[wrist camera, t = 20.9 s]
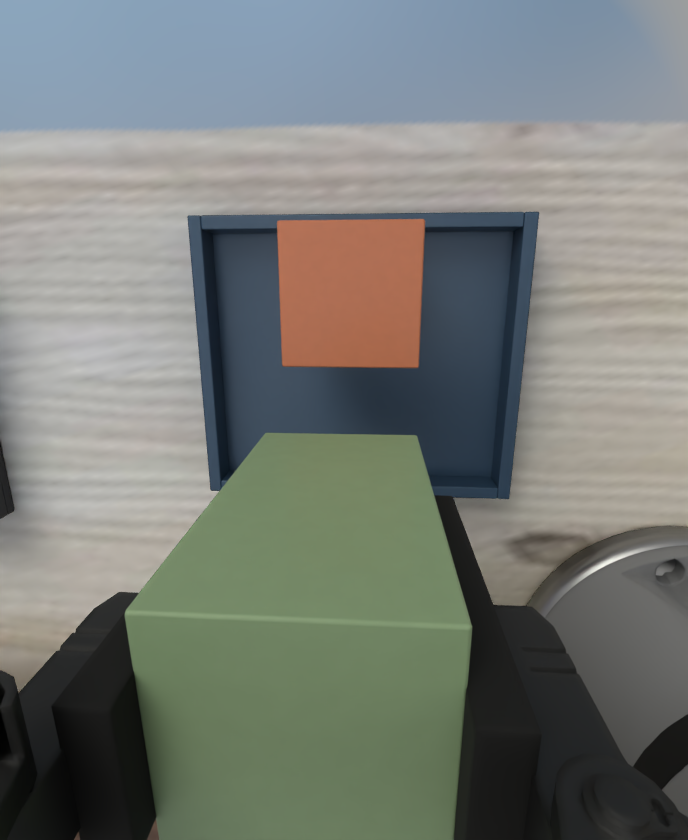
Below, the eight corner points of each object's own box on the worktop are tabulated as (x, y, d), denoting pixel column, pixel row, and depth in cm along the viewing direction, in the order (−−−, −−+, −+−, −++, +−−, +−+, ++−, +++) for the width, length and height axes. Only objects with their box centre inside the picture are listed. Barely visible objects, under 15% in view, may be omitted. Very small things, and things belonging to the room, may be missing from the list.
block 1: (407, 245, 21) (425, 218, 14) (404, 342, 23) (419, 368, 15) (311, 245, 22) (276, 219, 14) (313, 342, 23) (281, 367, 15)
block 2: (417, 434, 13) (473, 627, 6) (412, 569, 15) (452, 880, 7) (265, 432, 14) (121, 612, 6) (272, 565, 15) (159, 857, 7)
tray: (524, 219, 21) (539, 211, 19) (499, 483, 25) (509, 499, 23) (203, 222, 22) (186, 215, 20) (222, 476, 26) (210, 491, 24)
